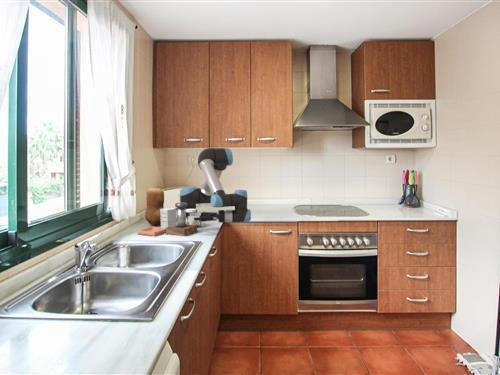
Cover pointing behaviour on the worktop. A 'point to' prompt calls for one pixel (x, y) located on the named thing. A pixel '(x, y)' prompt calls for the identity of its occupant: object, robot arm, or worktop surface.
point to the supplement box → (168, 217)
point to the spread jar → (192, 221)
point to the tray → (152, 231)
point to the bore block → (181, 230)
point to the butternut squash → (154, 206)
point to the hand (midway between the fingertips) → (189, 216)
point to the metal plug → (181, 214)
